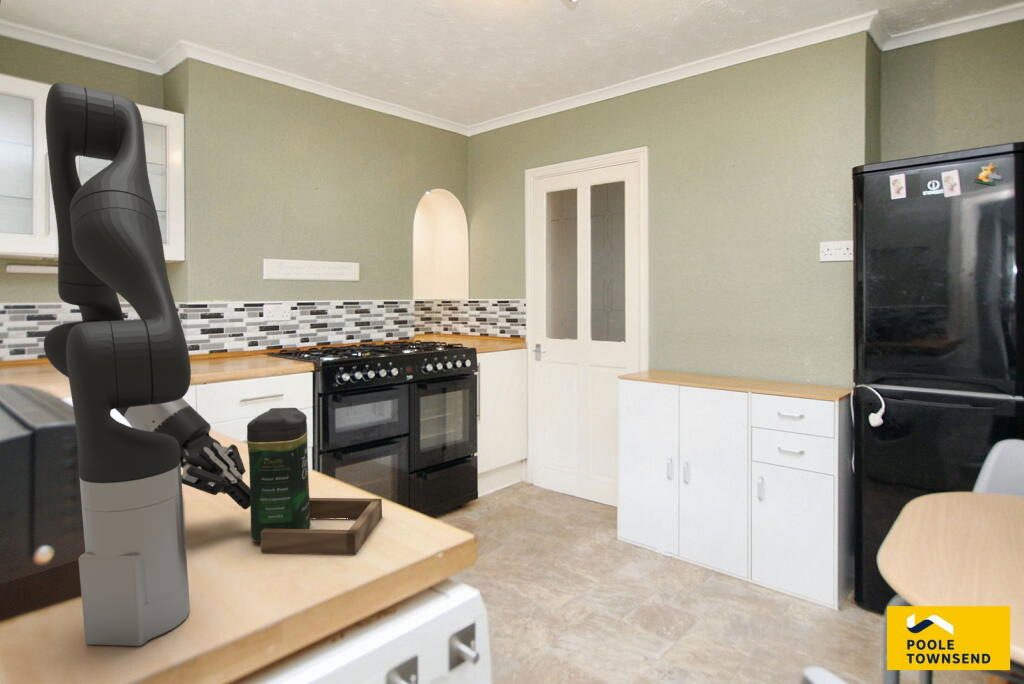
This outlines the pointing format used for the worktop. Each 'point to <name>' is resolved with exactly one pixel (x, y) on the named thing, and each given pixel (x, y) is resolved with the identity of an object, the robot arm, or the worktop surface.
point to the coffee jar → (278, 471)
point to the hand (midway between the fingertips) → (252, 503)
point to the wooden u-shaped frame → (326, 539)
